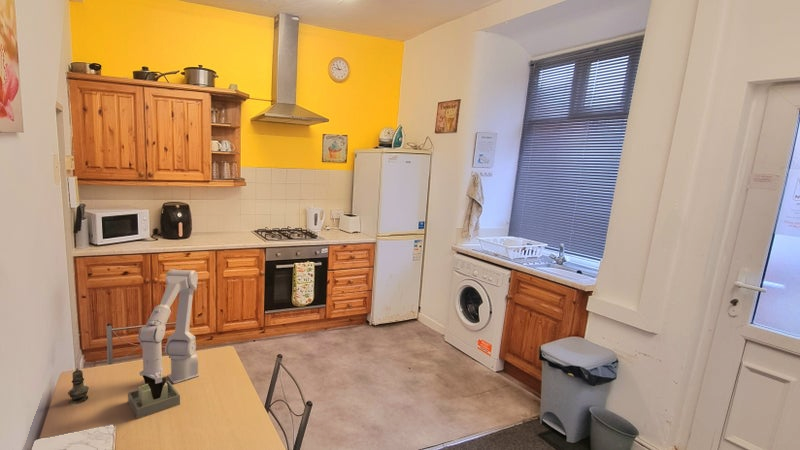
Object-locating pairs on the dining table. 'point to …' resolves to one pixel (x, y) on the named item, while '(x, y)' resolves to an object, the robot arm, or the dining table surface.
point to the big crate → (154, 407)
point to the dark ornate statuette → (78, 388)
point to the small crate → (150, 395)
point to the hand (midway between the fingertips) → (153, 393)
